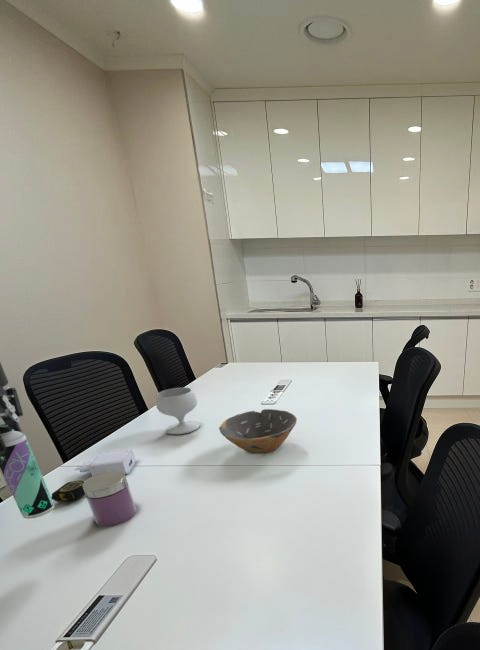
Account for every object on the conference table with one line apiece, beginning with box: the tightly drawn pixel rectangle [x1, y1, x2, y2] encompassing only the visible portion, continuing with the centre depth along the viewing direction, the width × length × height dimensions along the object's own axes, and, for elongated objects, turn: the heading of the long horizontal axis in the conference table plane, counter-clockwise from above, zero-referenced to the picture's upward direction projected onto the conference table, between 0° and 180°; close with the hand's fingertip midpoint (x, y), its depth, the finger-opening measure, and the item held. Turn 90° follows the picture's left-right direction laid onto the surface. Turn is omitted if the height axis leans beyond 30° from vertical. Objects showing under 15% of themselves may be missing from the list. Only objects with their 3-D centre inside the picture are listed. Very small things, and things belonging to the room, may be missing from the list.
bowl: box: [218, 408, 298, 455], centre depth 131 cm, size 25×25×10 cm
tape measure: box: [51, 479, 85, 502], centre depth 107 cm, size 7×7×4 cm
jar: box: [84, 482, 137, 527], centre depth 97 cm, size 9×9×10 cm
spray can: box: [0, 423, 56, 519], centre depth 79 cm, size 6×6×20 cm
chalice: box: [155, 387, 201, 435], centre depth 148 cm, size 14×14×15 cm
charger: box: [74, 449, 136, 477], centre depth 120 cm, size 5×9×15 cm
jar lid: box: [82, 471, 128, 498], centre depth 96 cm, size 9×9×2 cm
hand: (9, 446), depth 77 cm, fingers closed on spray can, 5 cm apart
